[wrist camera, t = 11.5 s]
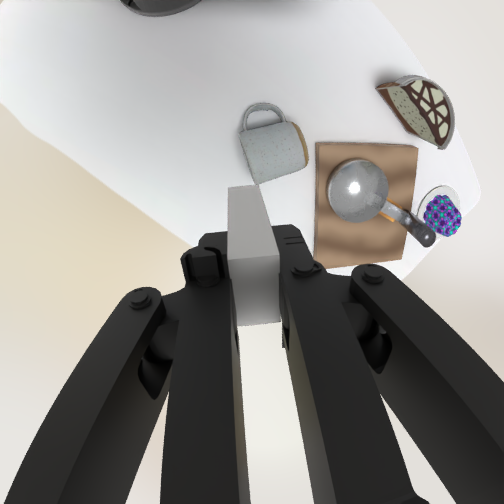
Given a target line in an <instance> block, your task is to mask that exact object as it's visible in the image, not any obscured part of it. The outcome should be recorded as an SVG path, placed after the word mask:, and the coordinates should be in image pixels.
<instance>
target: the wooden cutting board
mask: <svg viewBox="0 0 504 504" xmlns="http://www.w3.org/2000/svg"><path fill="white" fill-rule="evenodd" d="M355 158H360V159H365V160H368V161H370V162H371V163H373V164H375V165H376V166H378V167H379V168H380V169H381V170H382V171H383V172H384V174H385V176H386V178H387V181H388V187H389V191H388V197H387V200H388V201H390V202H391V203H393V204H395V205H396V206H398V207H399V208H401V209H403V210H409V211H411V207H412V200H413V193H414V186H415V178H416V169H417V158H418V148H417V147H414V146H411V145H397V144H378V143H316V198H315V235H314V258H313V260H315V261H317V262H319V263H321V264H322V265H323V266H324V267H325V269H329V268H337V267H346V266H354V265H361V264H370V263H378V262H386V261H393V260H401V259H402V254H403V250H404V245H405V240H406V235H407V230H406V229H405V228H404V227H403V226H402V225H401V224H400V223H399V222H398V221H397V220H395V219H393V218H391V217H390V216H388V215H386V214H384V213H383V212H381V211H380V212H379V213H378V214H377V215H376V216H374V217H373V218H371V219H370V220H367V221H365V222H360V223H352V222H348V221H345V220H343V219H342V218H340V217H339V216H338V215H337V214H336V213H335V211H334V210H333V209H332V207H331V206H330V204H329V202H328V199H327V195H326V187H327V182H328V179H329V177H330V175H331V173H332V172H333V171H334V169H335V168H336V167H337V166H338V165H340V164H341V163H343V162H345V161H347V160H350V159H355Z"/></svg>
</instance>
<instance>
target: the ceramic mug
mask: <svg viewBox="0 0 504 504" xmlns="http://www.w3.org/2000/svg"><path fill="white" fill-rule="evenodd" d="M269 109H270V110H273V111H274V112H276V113H277V114H278V116H279V117H280V119H281V121H282V122H281V123H276V124H273V125H269V126H264V127H260V128H255V129H251V130H247V129H246V122H247V118H248V116H249V114H250V113H252V112H255V111H260V110H267V111H268V110H269ZM243 128H244V131H243V132H240V133H239V138H240V141H241V145H242V148H243V152H244V155H245V158H246V161H247V164H248V167H249V170H250V173H251V176H252V179H253V181H254V183H255V184H256V185H258V184H261V183H264V182H266V181H269V180H272V179H276V178H278V177H281V176H284V175H287V174H291V173H294V172H296V171H299V170H301V169H303V168H305V167H306V166H307V164H308V161H309V156H308V150H307V146H306V142H305V139H304V137H303V134H302V132H301V130H300V128H299V127H298V125H296V124H295V123H293V122H286V119H285V117H284V115H283V113H282V111H281V110H280V109H279V108H278V107H276V106H274V105H272V104H269V103H260V104H256V105H253V106H251V107H250V108H249V109H248V110H247V112H246V113H245V115H244V119H243Z"/></svg>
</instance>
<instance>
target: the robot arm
mask: <svg viewBox="0 0 504 504" xmlns="http://www.w3.org/2000/svg"><path fill="white" fill-rule="evenodd" d="M120 1H121V2H122V3H123V4H124V5H125V6H126V7H127V8H129V9H130V10H132V11H133V12H135V13H138V14H141V15H145V16H166V15H171V14H175V13H178V12H181V11H184V10H186V9H188V8H190V7H192V6H194V5H195V4H197V3H198V2H200V1H201V0H120ZM180 260H181V264H182V268H183V272H184V277H185V280H186V284H185V287H184V288H183V289H181V290H179V291H177V292H174V293H171V294H168V295H165V296H161V293H160V292H159V291H158V290H157V289H156V288H152V287H141V288H137V289H134V290H133V291H131V292H129V293H127V294H126V296H124V297H123V298H122V300H121V301H120V302H119V304H118V305H117V307H116V308H115V309H114V311H113V312H112V314H111V315H110V316H109V318H108V319H107V321H106V322H105V324H104V325H103V326H102V328H101V329H100V331H99V332H98V334H97V335H96V337H95V338H94V340H93V341H92V343H91V344H90V346H89V347H88V349H87V350H86V352H85V353H84V355H83V356H82V358H81V359H80V361H79V362H78V364H77V366H76V367H75V369H74V370H73V372H72V373H71V375H70V377H69V378H68V380H67V382H66V383H65V385H64V386H63V388H62V390H61V391H60V394H59V395H58V397H57V398H56V400H55V402H54V403H53V405H52V407H51V409H50V410H49V412H48V414H47V416H46V417H45V419H44V421H43V423H42V425H41V426H40V428H39V430H38V432H37V434H36V436H35V438H34V440H33V441H32V443H31V445H30V447H29V450H28V451H27V453H26V455H25V457H24V460H23V461H22V464H21V466H20V468H19V470H18V472H17V474H16V477H15V479H14V481H13V483H12V486H11V488H10V490H9V492H8V495H7V497H6V500H5V502H4V504H125V503H126V500H127V498H128V495H129V492H130V489H131V487H132V484H133V481H134V479H135V476H136V473H137V471H138V468H139V466H140V463H141V460H142V458H143V455H144V453H145V450H146V448H147V445H148V442H149V440H150V437H151V434H152V432H153V429H154V427H155V424H156V422H157V420H158V417H159V414H160V412H161V410H162V407H163V405H164V402H165V400H166V397H167V395H168V392H169V397H168V405H167V415H166V424H165V435H164V447H163V459H162V474H161V492H160V504H251V502H250V491H249V478H248V466H247V454H246V440H245V427H244V413H243V398H242V383H241V367H240V352H239V336H238V330H237V326H248V325H257V324H267V323H276V322H281V319H282V348H285V349H286V354H287V360H288V365H289V370H290V375H291V380H292V385H293V390H294V396H295V401H296V406H297V411H298V416H299V422H300V427H301V433H302V438H303V443H304V449H305V454H306V460H307V465H308V471H309V476H310V482H311V488H312V493H313V499H314V504H429V502H428V501H426V500H425V499H423V498H421V497H419V496H418V495H417V494H416V493H415V491H414V490H413V487H412V484H411V481H410V478H409V475H408V471H407V468H406V465H405V462H404V459H403V456H402V453H401V450H400V447H399V444H398V441H397V439H396V436H395V433H394V430H393V428H392V425H391V422H390V419H389V416H388V414H387V411H386V408H385V406H384V403H383V401H382V398H381V395H382V397H383V398H384V400H385V401H386V403H387V404H388V405H389V407H390V408H391V410H392V411H393V412H394V414H395V415H396V416H397V418H398V419H399V421H400V422H401V423H402V425H403V426H404V428H405V429H406V431H407V432H408V434H409V435H410V436H411V438H412V439H413V441H414V442H415V444H416V445H417V446H418V448H419V449H420V451H421V452H422V454H423V455H424V457H425V458H426V459H427V461H428V462H429V464H430V465H431V467H432V468H433V470H434V471H435V473H436V474H437V475H438V477H439V478H440V480H441V481H442V483H443V484H444V486H445V487H446V489H447V490H448V492H449V493H450V495H451V496H452V498H453V499H454V501H455V502H456V504H504V382H503V381H502V380H501V379H500V378H499V377H498V375H497V374H496V373H495V372H494V371H493V370H492V369H491V368H490V367H489V366H488V365H487V363H486V362H485V361H484V360H483V359H482V358H481V357H480V356H479V355H478V354H477V353H476V352H475V351H474V350H473V349H472V348H471V347H470V346H469V345H468V344H467V343H466V342H465V341H464V340H463V339H462V338H461V337H460V336H459V335H458V334H457V333H456V332H455V331H454V330H453V329H452V328H451V327H450V326H449V325H448V324H447V323H446V322H445V321H444V320H443V319H442V318H441V317H440V316H439V315H438V314H437V313H436V312H435V311H434V310H433V309H431V308H430V307H429V306H428V305H427V304H426V303H425V302H424V301H423V300H422V299H420V298H419V297H418V296H417V295H416V294H415V293H414V292H413V291H412V290H411V289H409V288H408V287H407V286H406V285H405V284H404V283H403V282H402V281H401V280H399V279H398V278H397V277H396V276H395V275H394V274H392V273H391V272H390V271H389V270H387V269H386V268H384V267H383V266H379V265H376V264H361V265H359V266H357V267H355V268H354V269H353V271H352V274H351V276H342V275H334V274H330V273H327V271H326V269H325V267H324V266H323V265H322V264H321V263H319V262H317V261H315V260H313V257H312V255H311V253H310V251H309V249H308V247H307V244H306V243H305V240H304V238H303V236H302V234H301V232H300V230H299V229H298V228H296V227H295V226H294V225H292V224H289V225H278V226H271V224H270V221H269V217H268V214H267V211H266V207H265V204H264V201H263V197H262V194H261V191H260V188H259V185H249V186H239V187H229V188H228V231H225V232H215V233H205V234H204V235H203V236H202V238H201V239H200V240H199V243H198V246H196V247H194V248H192V249H189V250H188V251H186V252H185V253H184V254H183V255H182V257H181V259H180ZM380 394H381V395H380Z"/></svg>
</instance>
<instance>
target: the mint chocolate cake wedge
mask: <svg viewBox="0 0 504 504" xmlns="http://www.w3.org/2000/svg"><path fill="white" fill-rule="evenodd" d="M375 89H376V91H377V92H378V93H379V94H380V96H381V97H382V98H383V100H384V101H385V102H386V104H387V105H388V106H389V108H390V109H391V110H392V112H393V113H394V115H395V116H396V117H397V119H398V120H399V122H400V123H401V125H402V126H403V128H404V129H405V131H406V132H408V133H410V134H412V135H415V136H417V137H419V138H421V139H423V140H425V141H428V142H430V143H432V144H434V145H436V146H438V149H441V150H443V149H444V150H445V149H446V147H447V146H448V144H449V143H450V141H451V139H452V136H453V132H454V127H455V116H454V110H453V106H452V103H451V101H450V99H449V97H448V95H447V94H446V92H445V91H444V90H443V89H442V88H441V87H440V86H439V85H437V84H436V83H435V82H433V81H432V80H429V79H427V78H424V77H422V76H417V75H408V76H404V77H402V78H400V79H398V80H397V81H396V82H391V83H385V84H382V85H380V86H378V87H377V88H375Z"/></svg>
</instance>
